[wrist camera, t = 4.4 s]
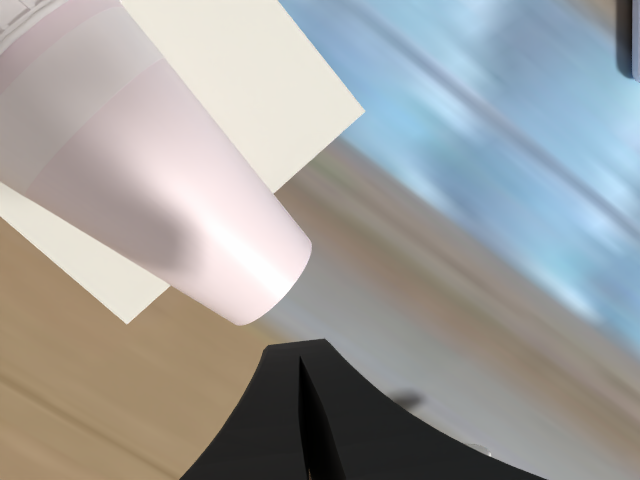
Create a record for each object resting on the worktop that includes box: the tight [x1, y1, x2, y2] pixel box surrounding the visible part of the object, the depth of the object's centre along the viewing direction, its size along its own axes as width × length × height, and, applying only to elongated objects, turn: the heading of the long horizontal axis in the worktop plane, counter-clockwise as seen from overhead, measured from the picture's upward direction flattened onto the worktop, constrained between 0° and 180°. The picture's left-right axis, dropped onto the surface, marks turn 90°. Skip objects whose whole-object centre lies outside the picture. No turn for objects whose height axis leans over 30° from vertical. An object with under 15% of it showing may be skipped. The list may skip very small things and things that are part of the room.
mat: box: [0, 0, 365, 324], centre depth 16 cm, size 15×12×1 cm
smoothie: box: [0, 0, 312, 325], centre depth 13 cm, size 6×6×14 cm
